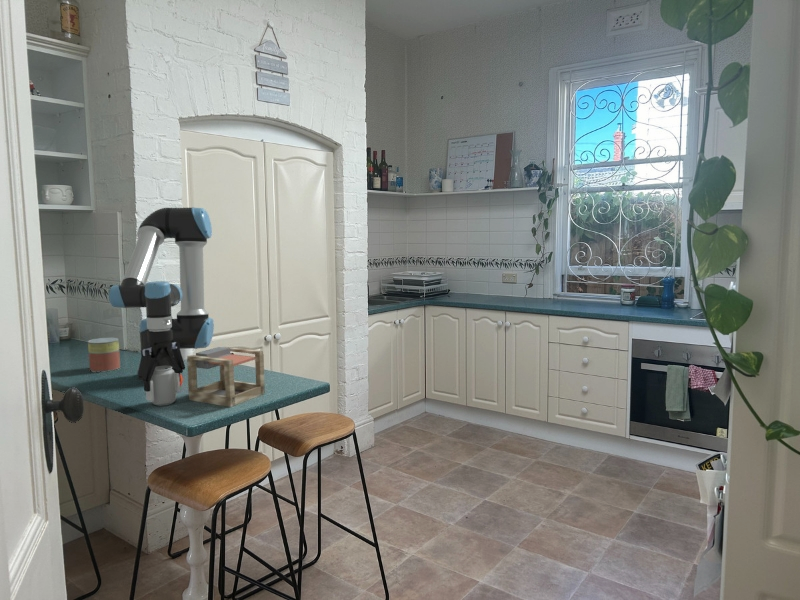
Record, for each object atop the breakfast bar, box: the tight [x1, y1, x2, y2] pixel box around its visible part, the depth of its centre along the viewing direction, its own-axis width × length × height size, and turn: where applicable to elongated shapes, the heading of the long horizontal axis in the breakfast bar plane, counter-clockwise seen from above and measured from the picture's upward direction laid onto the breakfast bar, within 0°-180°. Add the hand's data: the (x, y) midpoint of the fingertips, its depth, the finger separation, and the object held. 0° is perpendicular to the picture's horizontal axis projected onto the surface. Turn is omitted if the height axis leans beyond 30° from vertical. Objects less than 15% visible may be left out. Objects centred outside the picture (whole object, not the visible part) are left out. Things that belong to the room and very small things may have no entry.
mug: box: [180, 348, 197, 361], centre depth 259 cm, size 12×9×9 cm
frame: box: [186, 346, 266, 408], centre depth 200 cm, size 18×17×15 cm
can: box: [150, 366, 177, 407], centre depth 193 cm, size 8×8×12 cm
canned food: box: [87, 337, 121, 371], centre depth 239 cm, size 11×11×12 cm
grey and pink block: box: [195, 346, 256, 370], centre depth 199 cm, size 16×13×5 cm
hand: (163, 396), depth 194 cm, fingers open, 10 cm apart
